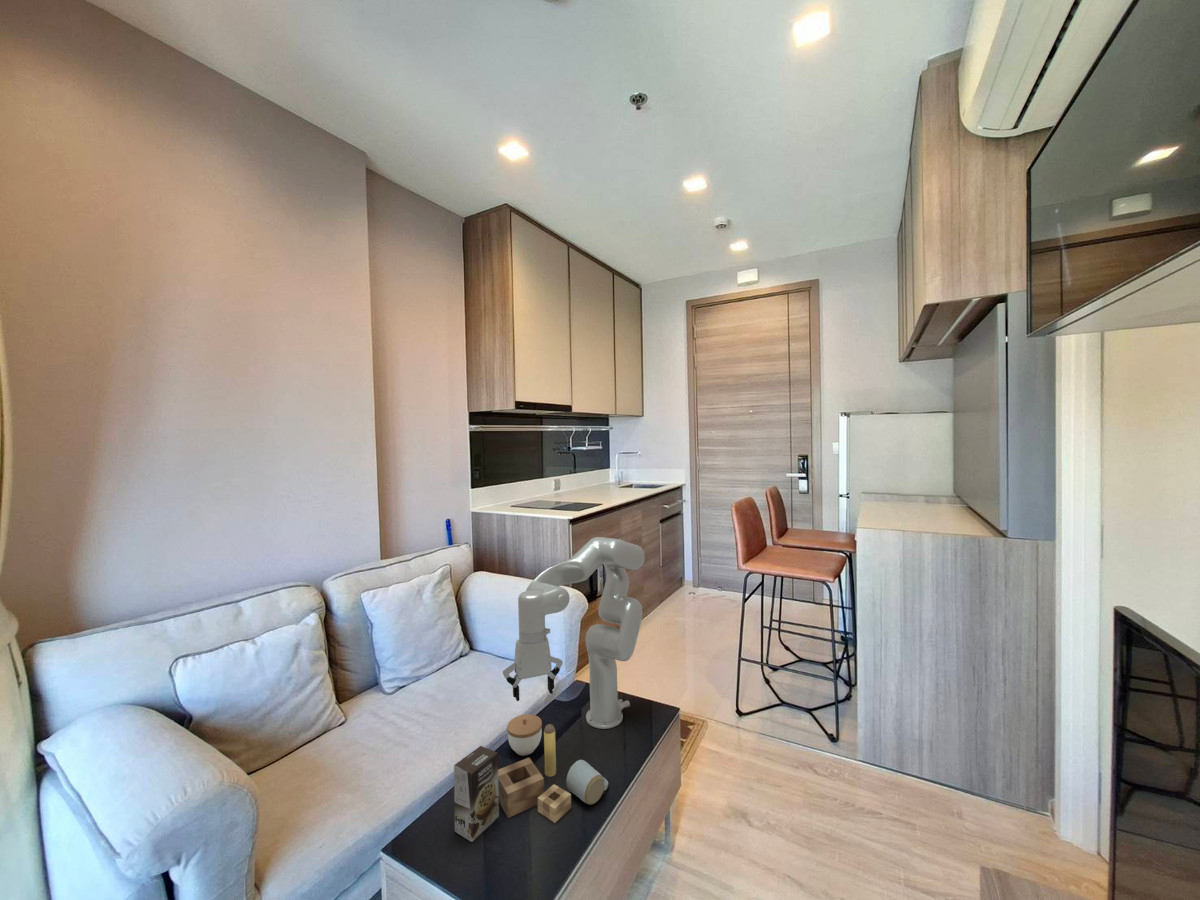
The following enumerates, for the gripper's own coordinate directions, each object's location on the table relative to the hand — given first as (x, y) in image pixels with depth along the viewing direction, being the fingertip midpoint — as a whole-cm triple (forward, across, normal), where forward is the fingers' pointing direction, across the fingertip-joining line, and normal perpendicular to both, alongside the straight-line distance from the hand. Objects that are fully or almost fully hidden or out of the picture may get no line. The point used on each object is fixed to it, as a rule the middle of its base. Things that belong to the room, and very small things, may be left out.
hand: (533, 695), depth 130 cm
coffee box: (+22, +18, +13) cm, 31 cm away
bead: (+22, +6, +8) cm, 24 cm away
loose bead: (+22, -1, +16) cm, 27 cm away
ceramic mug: (+22, -11, +14) cm, 28 cm away
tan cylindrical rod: (+22, -4, +2) cm, 22 cm away
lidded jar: (+22, +1, -11) cm, 25 cm away
